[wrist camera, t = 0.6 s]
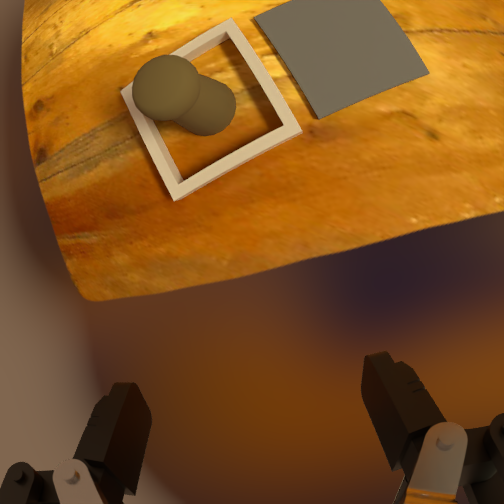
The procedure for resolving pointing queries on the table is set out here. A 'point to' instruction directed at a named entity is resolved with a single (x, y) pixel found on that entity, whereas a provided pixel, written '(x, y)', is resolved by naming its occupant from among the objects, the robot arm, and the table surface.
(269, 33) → the mat
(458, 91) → the table surface
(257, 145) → the white square frame
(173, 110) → the cork
